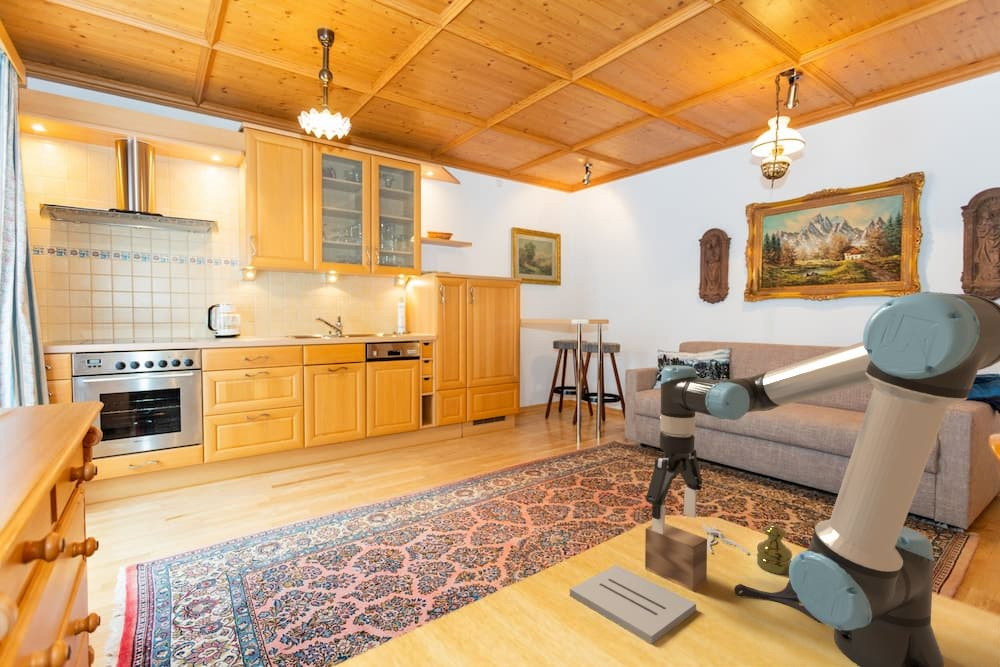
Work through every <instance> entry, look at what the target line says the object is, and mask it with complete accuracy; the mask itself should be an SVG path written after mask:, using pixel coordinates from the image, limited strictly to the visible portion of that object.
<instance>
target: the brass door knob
mask: <svg viewBox="0 0 1000 667" xmlns="http://www.w3.org/2000/svg"><path fill="white" fill-rule="evenodd" d="M762 531H763V533H765V534H766V535H767V537H768V538H767V539H764V541H760V542H759V543H758V544H757V546H756V550H757V554H756V558H757V559H756V564H757V565H758V567H760V568H761V569H762V570H764V571H766V572H768V571H769V573H771V572H772V573H771V574H775V573H776V574H775V575H787V574H788V575H789V566H790V563H791V561H792V559H793V551H792V550H791V549H790V548H789V547H787V546H786V544H785V543H783V541H782V539H783V538H785V537H786V536H787V535H788V533H787V532H788V531H786V529H783V527H780V526H778V525H777V524H771V525H769V524H768V525H765V526H764V527H763V528H762Z"/></svg>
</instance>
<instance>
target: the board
mask: <svg viewBox="0 0 1000 667" xmlns="http://www.w3.org/2000/svg"><path fill="white" fill-rule="evenodd" d="M569 596H570V597H571V596H572V597H571V598H573V599H575V600H577V602H580V603H582V605H585V606H586V607H588V608H589V609H592V610H594V611H595V612H597V613H598V614H600V615H602V616H603V617H605V618H606V619H608V620H609V621H612V622H614V623H615V624H616V625H618V626H620V627H621V628H623V629H624V630H627V631H629V632H630V633H632V634H633V635H635V636H637V637H638V638H640V639H642V640H643V641H645V642H647V643H649V644H650V645H652V644H653V645H654V643H655V642H657V641H658V640H659V639H660V638H662V637H663V636H664V635H666V634H667V633H668V632H670V631H671V630H672V629H673V628H675V627H677V626H678V625H679V624H681V623H682V622H683V621H685V620H686V619H687V618H688V617H690V616H691V615H693V614H694V613H695V612H696V611H697V602H694V601H692V600H690V599H687V598H686V597H684V596H683V595H679V594H677V593H675V592H673V591H671V590H670V589H667V588H665V587H663V586H661V585H659V584H657V583H655V582H652V581H651V580H649V579H647V578H644V577H642V576H640V575H638V574H636V573H634V572H632V571H629V570H628V569H626V568H623V567H622V566H619V565H617V564H614V565H613V566H610V567H609V568H606V569H605V570H603V571H601V572H599V573H597V574H595V575H594V576H591V577H589V578H588V579H586V580H584V581H582V582H580V583H578V584H576V585H574V586H572V587H571V588H569Z"/></svg>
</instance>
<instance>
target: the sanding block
mask: <svg viewBox="0 0 1000 667" xmlns="http://www.w3.org/2000/svg"><path fill="white" fill-rule="evenodd" d="M644 548H645V550H644V551H645V552H644V553H645V555H644V556H645V557H644V560H645V562H644V569H645V571H647V572H649V573H652V574H654V575H656V576H659V577H660V578H662V579H665V580H667V581H669V582H671V583H673V584H676V585H678V586H680V587H682V588H684V589H686V590H689V591H691V592H695V591H696V590H698V589H699V588H701V586H703V585H705V584H706V583H707V579H708V578H707V576H708V575H707V572H708V571H707V570H708V569H707V568H708V567H707V565H708V550H707V538H706V537H702V536H700V535H698V534H695V533H692V532H689V531H686V530H684V529H682V528H678V527H676V526H673V525H671V524H667V523H665V531H664V534H660V533H658V532H655V531H653V530H652V525H650V526H648V527H646V528H645V547H644Z"/></svg>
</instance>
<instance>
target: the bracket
mask: <svg viewBox="0 0 1000 667" xmlns="http://www.w3.org/2000/svg"><path fill="white" fill-rule="evenodd" d="M733 590H734V594H735V596H736V597H742V598H751V599H763V600H770V601H774V602H777V603H780V604H783V605H786V606H789V607H790V608H793V609H795V610H798V611H799V612H800V613H803V614H804V615H806V616H808V617H809V618H811V619H812V620H813V621H815V622H816V621H817V623H820V621H819V620H818V619H817V618H815V617H814V616H813V615H812V614H811V613H810V612H809V611H808V610H807V609H806V608H805V607H804V606H803V605H802V603H801V602H800V601H799V599H798V597H797V593H796V592H795V591H794V590H793V588H792V585H791V582H790V579H789V580H788V581H787V583H786V587H785V588H784V589H782V590H780V591H776V592H769V591H763V590H759V589H756V588H753V587H750V586H747V585H745V584H742V583H739V584H737V585H735V587H734V589H733ZM799 603H801V604H799Z"/></svg>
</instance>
